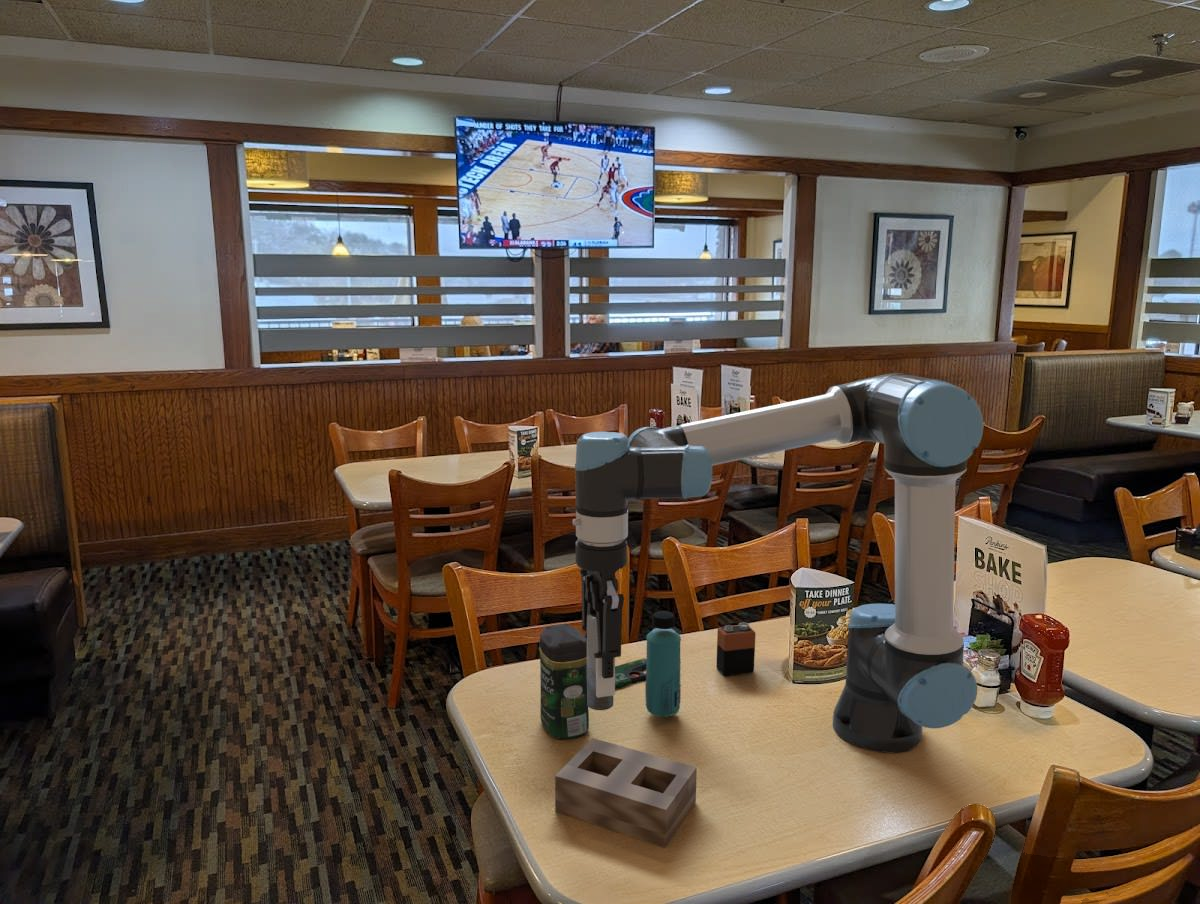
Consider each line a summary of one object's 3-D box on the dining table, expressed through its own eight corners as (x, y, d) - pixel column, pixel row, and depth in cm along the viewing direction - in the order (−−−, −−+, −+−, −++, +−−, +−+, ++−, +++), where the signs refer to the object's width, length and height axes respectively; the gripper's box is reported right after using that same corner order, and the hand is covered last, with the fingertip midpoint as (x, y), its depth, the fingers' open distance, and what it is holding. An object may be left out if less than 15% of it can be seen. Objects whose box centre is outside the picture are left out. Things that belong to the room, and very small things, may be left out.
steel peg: (617, 701, 128) (618, 614, 126) (605, 712, 125) (606, 623, 122) (594, 695, 130) (595, 609, 127) (582, 706, 127) (582, 618, 124)
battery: (754, 673, 173) (756, 627, 171) (723, 677, 171) (725, 631, 169) (745, 664, 177) (747, 619, 175) (715, 667, 175) (717, 622, 173)
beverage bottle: (678, 726, 152) (680, 622, 148) (641, 722, 153) (643, 619, 149) (682, 708, 158) (684, 608, 154) (647, 705, 160) (648, 605, 156)
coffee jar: (534, 718, 155) (533, 623, 151) (575, 710, 158) (575, 617, 154) (552, 745, 146) (551, 644, 142) (594, 736, 149) (594, 637, 145)
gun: (608, 693, 162) (582, 673, 170) (608, 700, 162) (582, 680, 171) (676, 673, 171) (647, 655, 179) (676, 680, 171) (647, 661, 179)
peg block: (695, 802, 130) (696, 767, 129) (665, 847, 119) (666, 809, 118) (592, 771, 138) (592, 738, 137) (555, 811, 128) (555, 775, 126)
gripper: (561, 525, 129) (561, 667, 134) (594, 559, 113) (593, 719, 118) (607, 521, 131) (606, 661, 136) (646, 554, 116) (643, 711, 120)
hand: (600, 687), depth 127 cm, fingers closed on steel peg, 4 cm apart
